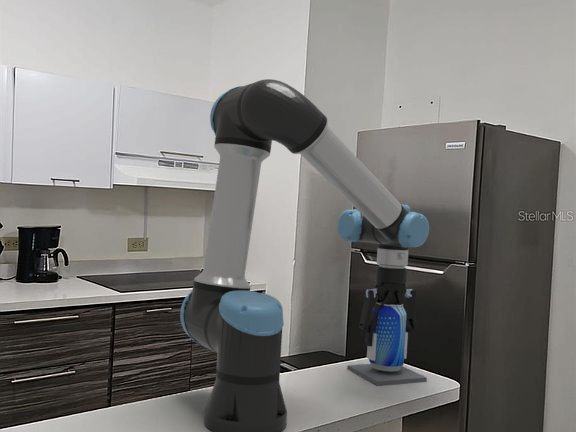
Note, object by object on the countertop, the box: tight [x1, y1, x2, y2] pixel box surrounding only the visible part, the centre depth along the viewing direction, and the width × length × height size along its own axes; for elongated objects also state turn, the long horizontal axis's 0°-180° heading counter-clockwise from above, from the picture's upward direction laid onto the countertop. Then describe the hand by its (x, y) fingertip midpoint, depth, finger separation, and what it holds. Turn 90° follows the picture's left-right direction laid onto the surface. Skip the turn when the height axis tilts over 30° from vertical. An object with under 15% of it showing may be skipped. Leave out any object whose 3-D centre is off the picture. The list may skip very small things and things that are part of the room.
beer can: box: [368, 303, 407, 371], centre depth 145 cm, size 8×8×16 cm
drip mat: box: [346, 363, 428, 387], centre depth 145 cm, size 14×14×1 cm
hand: (386, 358), depth 145 cm, fingers closed on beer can, 8 cm apart
